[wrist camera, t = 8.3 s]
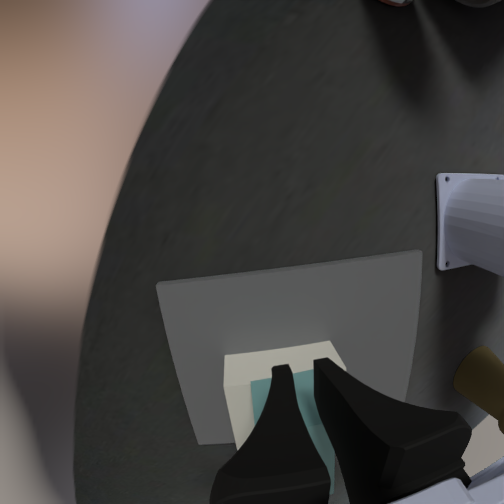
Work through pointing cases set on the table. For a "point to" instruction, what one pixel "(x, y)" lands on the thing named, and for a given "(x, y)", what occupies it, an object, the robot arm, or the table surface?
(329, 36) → the table surface
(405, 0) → the supplement bottle
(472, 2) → the bluetooth speaker
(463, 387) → the cork
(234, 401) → the base brick
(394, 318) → the baseplate
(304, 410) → the top brick
